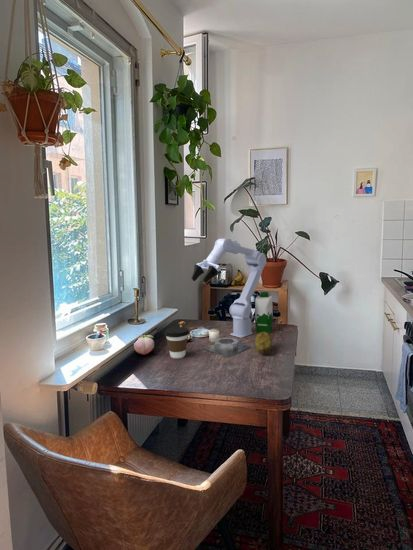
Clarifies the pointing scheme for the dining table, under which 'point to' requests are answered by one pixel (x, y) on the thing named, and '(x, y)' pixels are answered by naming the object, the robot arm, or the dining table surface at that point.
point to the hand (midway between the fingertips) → (198, 280)
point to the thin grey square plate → (226, 347)
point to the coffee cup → (177, 341)
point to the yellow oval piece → (263, 343)
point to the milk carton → (263, 312)
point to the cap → (213, 335)
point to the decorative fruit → (144, 344)
